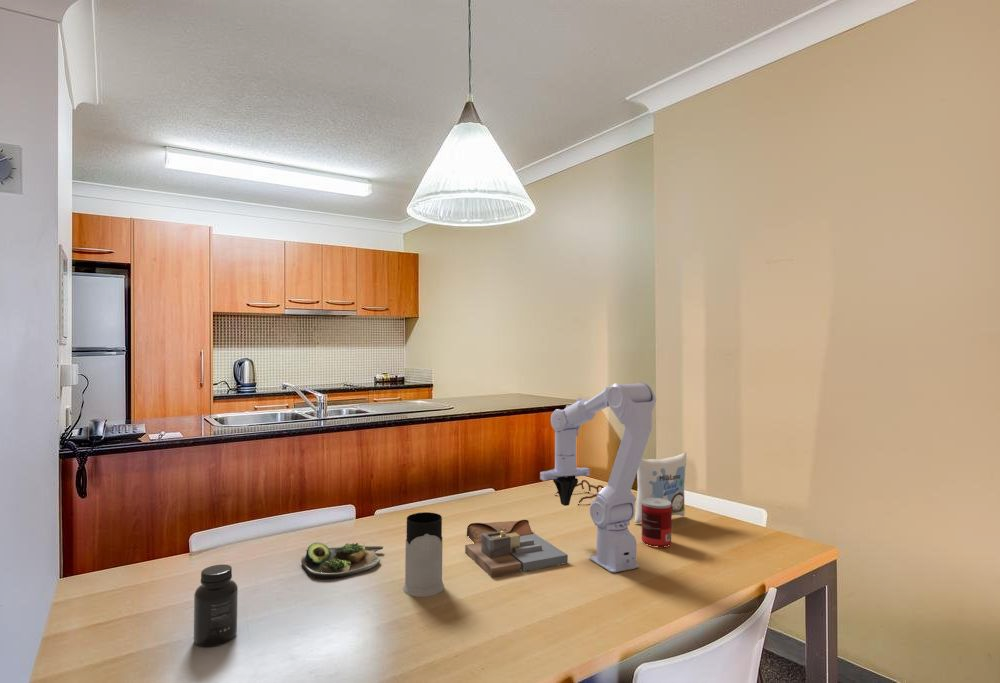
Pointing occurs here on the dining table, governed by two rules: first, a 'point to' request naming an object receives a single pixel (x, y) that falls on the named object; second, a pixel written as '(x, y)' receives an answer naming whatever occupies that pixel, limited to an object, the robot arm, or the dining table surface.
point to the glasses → (589, 489)
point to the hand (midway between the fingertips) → (565, 504)
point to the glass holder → (423, 555)
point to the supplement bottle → (215, 607)
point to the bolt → (514, 539)
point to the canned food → (656, 521)
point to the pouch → (662, 483)
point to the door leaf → (537, 553)
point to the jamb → (494, 555)
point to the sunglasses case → (498, 529)
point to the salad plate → (338, 560)
